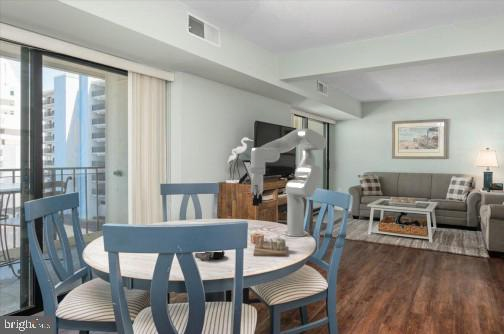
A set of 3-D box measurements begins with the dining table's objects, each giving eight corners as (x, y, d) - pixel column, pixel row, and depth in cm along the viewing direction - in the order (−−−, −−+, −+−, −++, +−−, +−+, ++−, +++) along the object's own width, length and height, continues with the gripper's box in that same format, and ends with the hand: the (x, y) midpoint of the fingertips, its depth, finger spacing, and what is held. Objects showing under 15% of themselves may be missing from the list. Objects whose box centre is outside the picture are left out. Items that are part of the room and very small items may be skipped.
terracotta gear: (251, 240, 184) (251, 233, 184) (264, 240, 183) (264, 233, 183) (250, 243, 177) (250, 236, 177) (263, 244, 177) (263, 236, 176)
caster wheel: (224, 261, 155) (217, 264, 146) (201, 254, 158) (193, 257, 148) (228, 247, 156) (221, 249, 146) (205, 240, 158) (197, 242, 149)
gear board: (255, 245, 173) (255, 234, 173) (285, 246, 172) (285, 234, 172) (253, 255, 155) (253, 243, 155) (286, 256, 154) (286, 243, 154)
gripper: (253, 171, 187) (253, 202, 187) (247, 171, 170) (246, 206, 170) (267, 171, 185) (266, 203, 186) (262, 172, 168) (261, 206, 169)
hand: (257, 204), depth 178 cm, fingers open, 9 cm apart
